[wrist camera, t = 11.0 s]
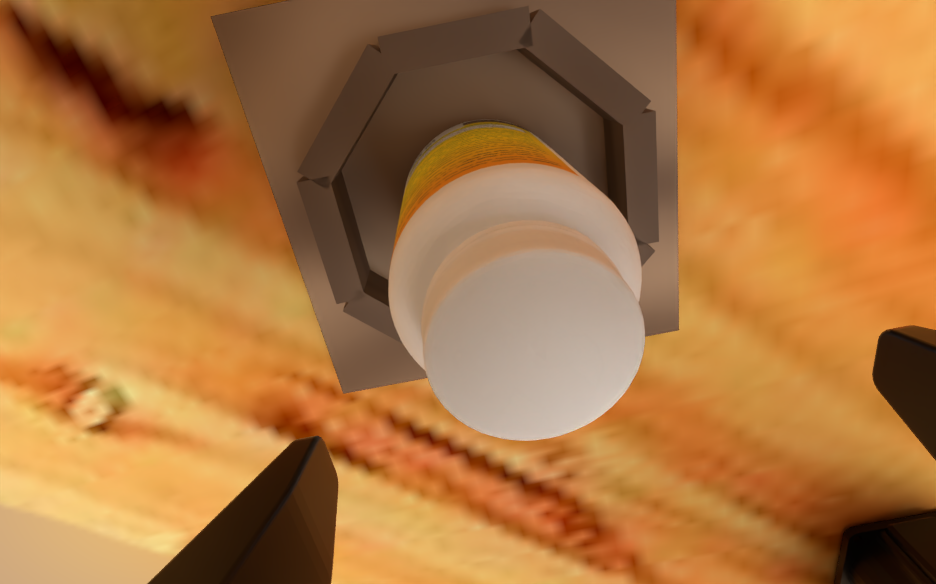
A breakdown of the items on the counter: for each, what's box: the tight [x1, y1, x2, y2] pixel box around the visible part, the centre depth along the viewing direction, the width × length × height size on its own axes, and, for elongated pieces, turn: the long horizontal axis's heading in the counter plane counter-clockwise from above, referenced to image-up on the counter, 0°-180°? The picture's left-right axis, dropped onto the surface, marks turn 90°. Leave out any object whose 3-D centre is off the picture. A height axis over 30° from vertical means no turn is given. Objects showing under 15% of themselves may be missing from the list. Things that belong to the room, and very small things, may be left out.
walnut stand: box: [211, 0, 679, 393], centre depth 18 cm, size 14×14×4 cm
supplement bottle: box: [388, 119, 645, 441], centre depth 14 cm, size 6×6×10 cm
